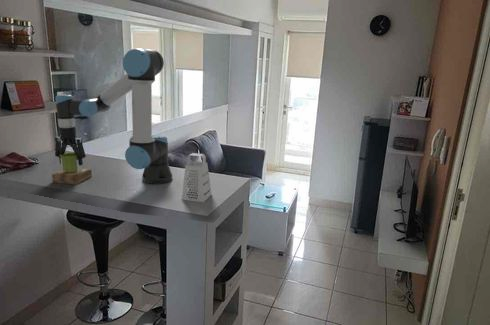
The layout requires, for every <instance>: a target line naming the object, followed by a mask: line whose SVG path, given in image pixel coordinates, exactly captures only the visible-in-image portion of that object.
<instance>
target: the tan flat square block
mask: <svg viewBox="0 0 490 325" xmlns="http://www.w3.org/2000/svg"><path fill="white" fill-rule="evenodd" d="M92 176H93V174H92V169H91V168H82V171H81V172H74V173H73V172H70V173H67V172H65V170H64V171H62V170H59V171H57V172H54V173H53V174H51V177H52V183H58V184H67V185H68V184H69V185H78V184H80V183H82V182H84V181H86V180H88V179H90V178H92Z"/></svg>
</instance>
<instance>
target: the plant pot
mask: <svg viewBox="0 0 490 325" xmlns="http://www.w3.org/2000/svg"><path fill="white" fill-rule="evenodd" d="M60 157H61V159H62V161H63V164H64V168H65V172H67V173H70V172H73V173H74V172H77V163H76V160H77V156H76V155H75V153H74V152H65V154H63V155H60Z"/></svg>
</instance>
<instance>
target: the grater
mask: <svg viewBox="0 0 490 325" xmlns="http://www.w3.org/2000/svg"><path fill="white" fill-rule="evenodd" d="M191 156H195V157H200V158H202V161H195V160H191V159H192V158H191ZM186 163H187V164H185V168H184V177H183V184H182V194H181V200H182V201H183V200H185V201H191V202H192V201H193V202H200V203H205V201H207V199H208V198H210V197H211V196H212V194H213V192H212V186H211V185H212V184H211V179H210V173H209V167H208V166H209V165H208V164H209V163H208V162H207V156H206V155H205V154H204V153H195V152H192V153H191V154H189V155H188V156H187V158H186Z"/></svg>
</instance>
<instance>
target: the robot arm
mask: <svg viewBox="0 0 490 325" xmlns="http://www.w3.org/2000/svg"><path fill="white" fill-rule="evenodd" d="M164 64H165V62H164V58H163V56H162V54H161V53H160V52H159V51H157V50H156V49H152V48H140V47H139V48H137V47H136V48H132V49H130V50H128V51H126V53H125V54H124V56H123V59H122V67H123V70H124V71H125V73H126V74H124V75H123V76H121V78H119V79H118V80H117V81H115V82H114V83H112V84H111V85H110V86H109V87H108V88H106V89H105V90H103V91H102V92H101V93H100V94H98V95H97V96H96V97H92V98H85V99H75V98H73V95H71V94H57V95H56V96H55V107H56V108H55V109H56V114H57V124H58V125H57V126H58V132H59V135H60V136H56V137H55V138H54V140H55V151H54V157H57V158H58V159H59V164H60V166H61V171H64V170H65V168H64V164H63V161H62V159H61V157H60V155H63V154H65V153H66V151H67V147H68V146H70V148H72V150H73V153H75V155H76V156H77V160H76V163H77V172H81V171H82V169H83V164H84V161H83V159H85V158H86V157H87V156H86V153H85V149H84V144H83V138H82V137H81V138H78V136H77V128H76V120H75V119H76V118H75V116H80V117H81V116H82V117H94V116H95V115H96V114H98V113H99V114H100V113H105V112H107V111H109V110H110V109H111V107H112V106H113V105H114V104H115V103H117V102H118V101H119V100H121V99H122V98H124V97H125V96H126V95H127V94H129V93H130V92H131V104H132V105H131V108H132V113H131V114H132V115H131V117H132V118H131V119H132V121H131V122H132V123H131V124H132V136H131V137H130V138H129V140H128V141H129V143H128V144H129V146H128V148H126V150H125V152H124V158H125V160H126V163H127V164H129V166H130V167H131V168H133V169H136V170H143V172H142V175H141V176H142V177H141V178H142V182H144V183H146V184H151V185H152V184H155V185H159V184H165V183H168V182H171V181H172V180H173V173H172V171H171V168H170V166H169V145H168V144H169V143H168V138H167V136H165V135H155V134H154V135H153V134H152V133H153V132H152V130H153V129H152V128H153V125H152V124H153V123H152V122H153V119H152V117H153V116H152V114H153V113H152V112H153V110H152V105H153V104H152V103H153V102H152V87H153V86H152V84H153V83H154V82H155V81H156V76H157V75H158V74H160V73H161V72H162V70H163V69H164Z"/></svg>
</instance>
